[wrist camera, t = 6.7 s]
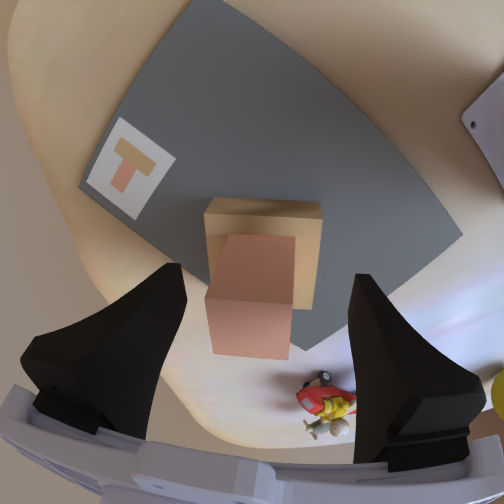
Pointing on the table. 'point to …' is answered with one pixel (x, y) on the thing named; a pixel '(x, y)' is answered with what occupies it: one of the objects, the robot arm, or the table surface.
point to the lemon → (498, 394)
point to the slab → (270, 234)
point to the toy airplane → (326, 406)
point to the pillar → (252, 297)
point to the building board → (262, 160)
